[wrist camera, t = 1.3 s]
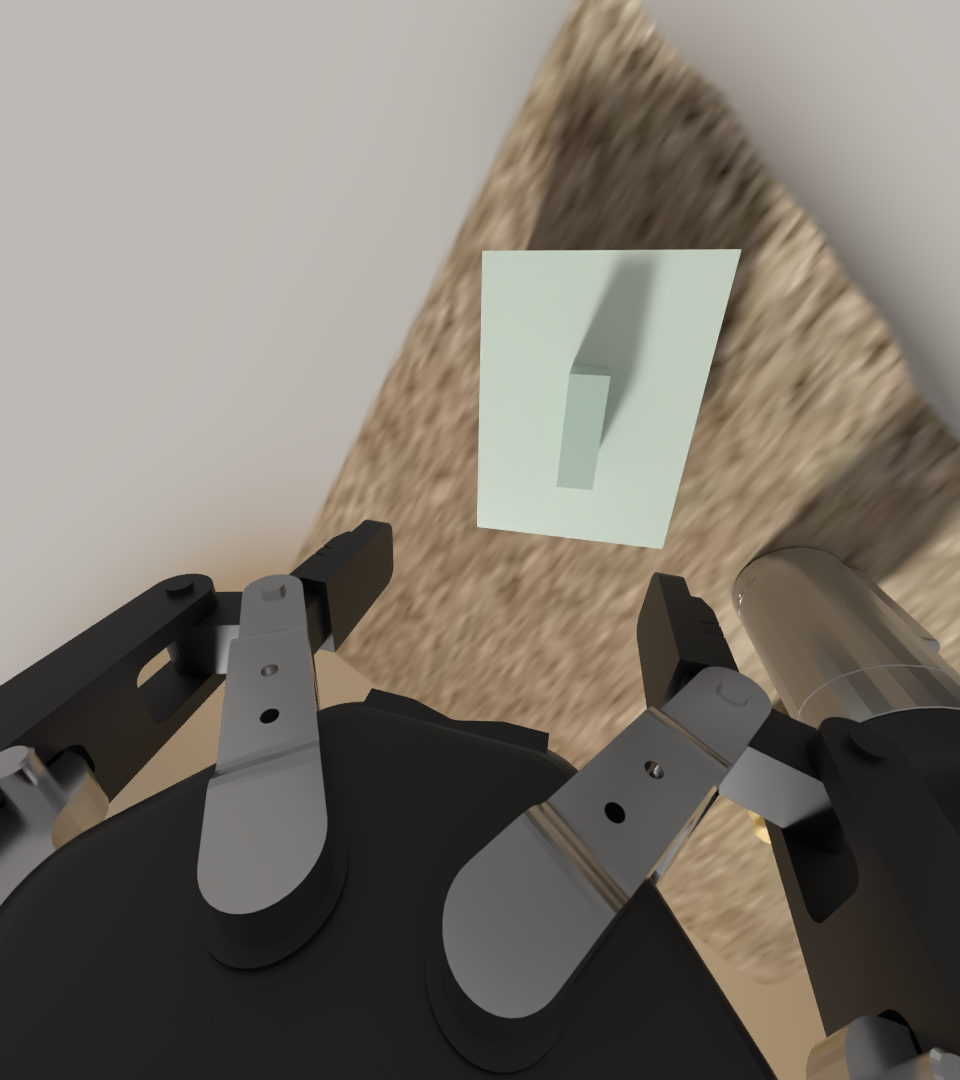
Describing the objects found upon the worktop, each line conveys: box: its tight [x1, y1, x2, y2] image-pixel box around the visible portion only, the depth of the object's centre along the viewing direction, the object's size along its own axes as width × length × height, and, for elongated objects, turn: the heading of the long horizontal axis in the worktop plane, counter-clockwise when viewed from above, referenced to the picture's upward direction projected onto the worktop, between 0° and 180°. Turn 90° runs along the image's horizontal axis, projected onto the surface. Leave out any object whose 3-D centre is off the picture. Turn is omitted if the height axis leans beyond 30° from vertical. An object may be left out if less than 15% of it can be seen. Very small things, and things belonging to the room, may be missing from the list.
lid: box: [477, 249, 742, 549], centre depth 25 cm, size 13×17×7 cm
